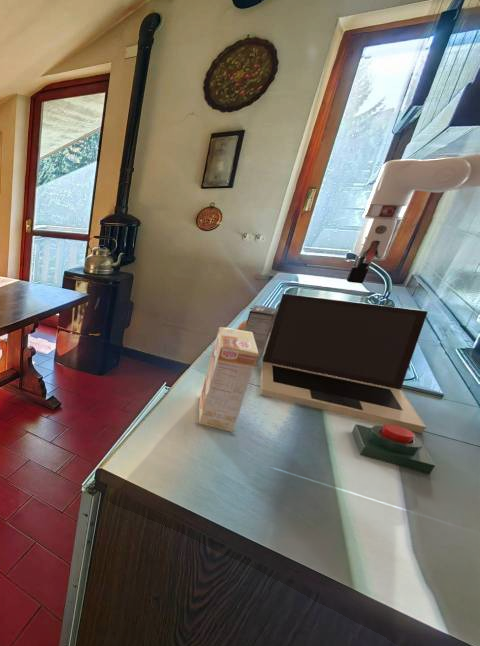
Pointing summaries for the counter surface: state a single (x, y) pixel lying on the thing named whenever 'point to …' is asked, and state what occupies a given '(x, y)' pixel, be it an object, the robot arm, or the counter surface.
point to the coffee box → (261, 327)
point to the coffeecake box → (227, 378)
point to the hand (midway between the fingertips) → (354, 281)
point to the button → (397, 433)
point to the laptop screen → (345, 339)
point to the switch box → (392, 449)
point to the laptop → (340, 396)
